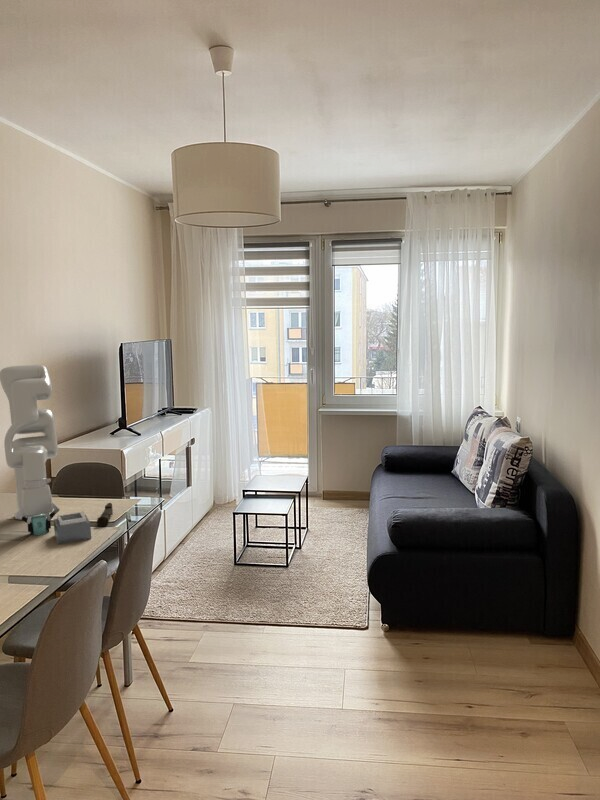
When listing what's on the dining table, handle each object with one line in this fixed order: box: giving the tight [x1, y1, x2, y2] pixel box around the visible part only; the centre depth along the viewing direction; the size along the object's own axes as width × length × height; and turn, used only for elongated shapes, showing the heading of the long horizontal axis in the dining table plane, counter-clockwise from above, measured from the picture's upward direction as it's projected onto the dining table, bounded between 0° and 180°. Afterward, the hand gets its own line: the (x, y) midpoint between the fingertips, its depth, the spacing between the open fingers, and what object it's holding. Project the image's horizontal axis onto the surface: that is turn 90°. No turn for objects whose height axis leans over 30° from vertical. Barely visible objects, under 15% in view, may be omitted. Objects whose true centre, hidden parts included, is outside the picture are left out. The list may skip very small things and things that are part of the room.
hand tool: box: [96, 502, 114, 527], centre depth 250 cm, size 19×4×5 cm, turn 5°
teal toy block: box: [31, 515, 48, 536], centre depth 235 cm, size 7×5×6 cm
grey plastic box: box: [53, 511, 92, 545], centre depth 229 cm, size 11×11×8 cm
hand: (39, 531), depth 236 cm, fingers closed on teal toy block, 5 cm apart
